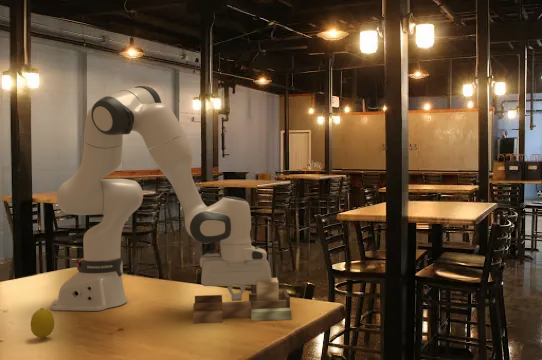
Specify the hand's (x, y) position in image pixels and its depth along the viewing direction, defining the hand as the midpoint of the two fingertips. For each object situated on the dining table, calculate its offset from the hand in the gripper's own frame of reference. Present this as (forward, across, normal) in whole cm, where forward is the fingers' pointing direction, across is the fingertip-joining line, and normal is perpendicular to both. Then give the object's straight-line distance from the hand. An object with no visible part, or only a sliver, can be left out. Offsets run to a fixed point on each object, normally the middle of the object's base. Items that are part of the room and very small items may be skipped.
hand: (236, 300), depth 165 cm
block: (+1, +9, -1) cm, 9 cm away
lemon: (+4, -49, -17) cm, 52 cm away
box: (+4, +9, +22) cm, 25 cm away
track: (+4, +1, -1) cm, 4 cm away
